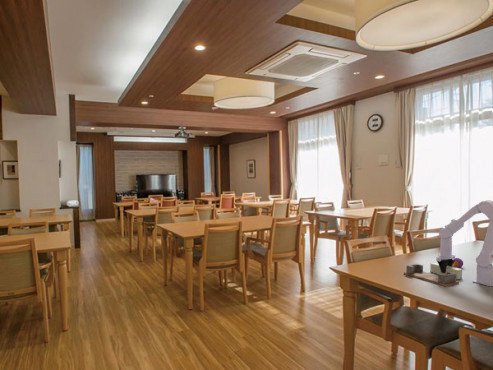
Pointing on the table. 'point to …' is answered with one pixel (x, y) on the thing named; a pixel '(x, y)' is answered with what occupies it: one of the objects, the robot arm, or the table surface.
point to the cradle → (431, 276)
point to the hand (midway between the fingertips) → (445, 272)
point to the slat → (436, 269)
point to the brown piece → (457, 263)
